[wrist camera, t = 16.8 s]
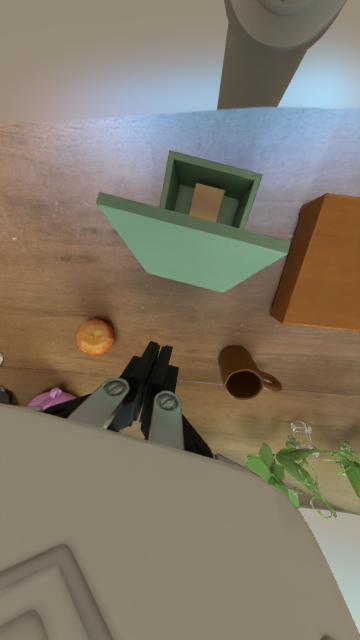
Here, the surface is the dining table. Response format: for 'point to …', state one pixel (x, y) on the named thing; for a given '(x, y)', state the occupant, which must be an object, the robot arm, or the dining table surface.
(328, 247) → the wooden box
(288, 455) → the plant cuttings
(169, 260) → the lid
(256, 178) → the chest
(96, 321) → the fruit
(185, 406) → the dining table surface
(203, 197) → the block
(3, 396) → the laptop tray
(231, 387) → the mug
